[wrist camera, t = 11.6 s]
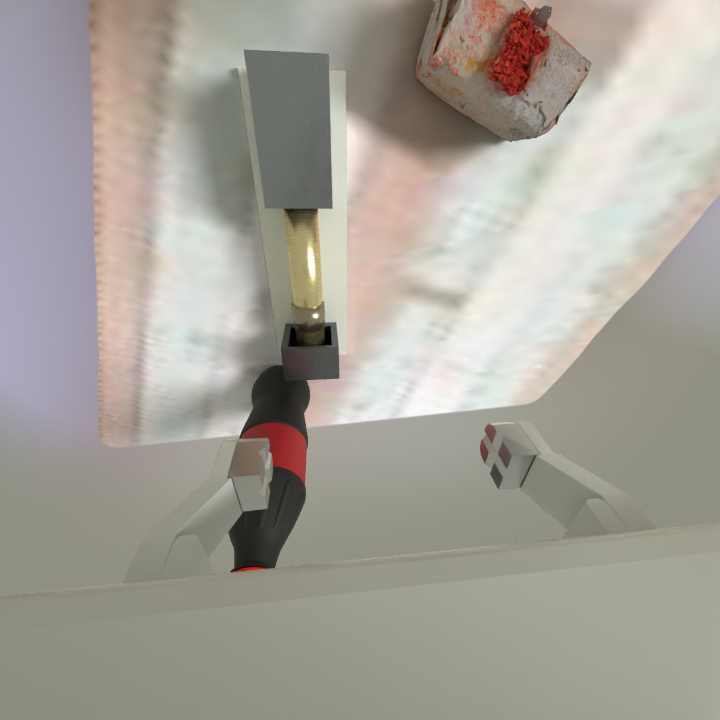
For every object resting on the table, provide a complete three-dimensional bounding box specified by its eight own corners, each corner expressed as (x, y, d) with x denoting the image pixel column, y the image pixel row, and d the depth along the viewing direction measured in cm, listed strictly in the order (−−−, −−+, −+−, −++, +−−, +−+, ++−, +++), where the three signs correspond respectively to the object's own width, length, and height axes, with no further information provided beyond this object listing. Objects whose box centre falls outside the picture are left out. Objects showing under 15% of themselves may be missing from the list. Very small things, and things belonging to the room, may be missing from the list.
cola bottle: (248, 393, 51) (181, 626, 26) (266, 352, 47) (207, 579, 23) (298, 408, 54) (279, 632, 29) (319, 371, 50) (318, 591, 26)
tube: (281, 190, 34) (277, 195, 31) (319, 191, 34) (319, 196, 31) (297, 347, 45) (296, 363, 42) (326, 346, 45) (327, 362, 42)
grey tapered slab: (257, 66, 30) (243, 49, 24) (327, 69, 30) (328, 53, 25) (272, 198, 36) (264, 208, 30) (330, 199, 36) (332, 208, 31)
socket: (285, 323, 44) (280, 349, 39) (336, 322, 45) (338, 347, 39) (288, 353, 47) (284, 381, 41) (337, 351, 48) (339, 378, 42)
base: (239, 67, 30) (237, 65, 29) (345, 72, 31) (346, 70, 30) (279, 354, 48) (279, 357, 47) (346, 352, 49) (347, 354, 48)
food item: (398, 82, 32) (425, 61, 24) (440, -25, 28) (489, -94, 20) (504, 149, 36) (557, 151, 28) (553, 63, 32) (631, 36, 24)
